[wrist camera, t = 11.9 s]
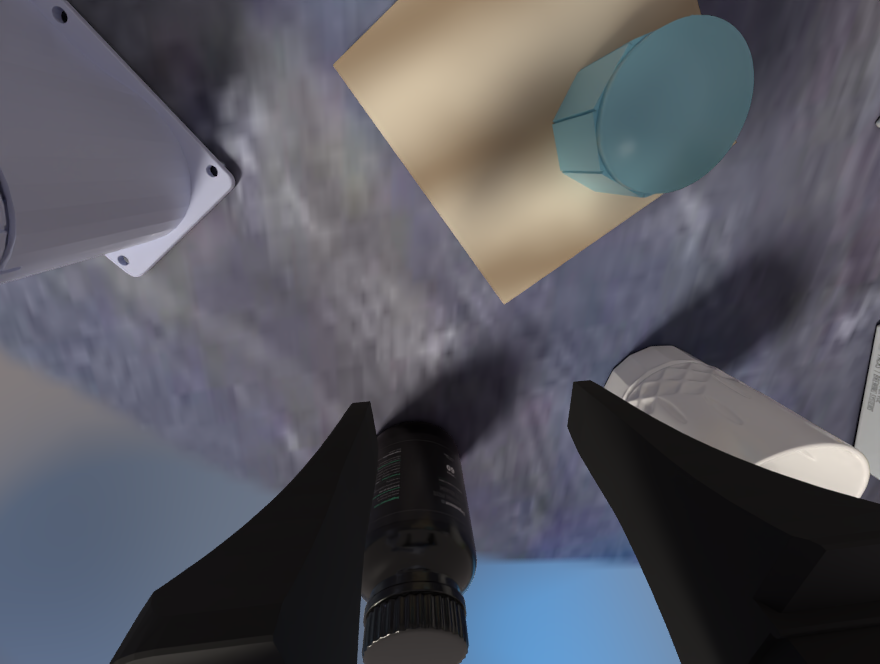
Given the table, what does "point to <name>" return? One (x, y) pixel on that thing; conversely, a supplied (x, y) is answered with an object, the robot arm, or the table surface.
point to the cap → (656, 109)
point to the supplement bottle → (417, 550)
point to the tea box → (871, 413)
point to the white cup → (736, 419)
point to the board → (497, 118)
